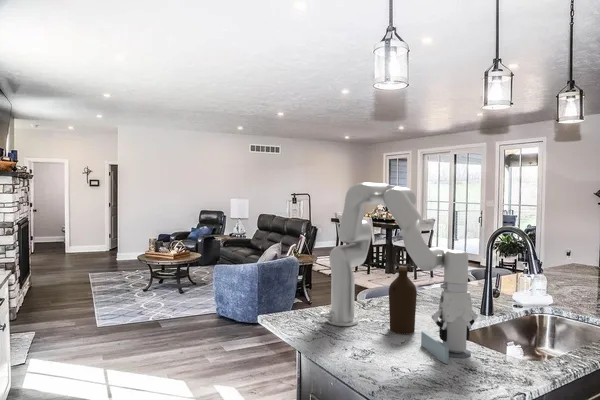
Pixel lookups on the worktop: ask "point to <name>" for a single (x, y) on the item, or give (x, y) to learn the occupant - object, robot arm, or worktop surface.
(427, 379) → the worktop surface
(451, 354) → the coaster
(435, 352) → the acrylic wall
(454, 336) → the can
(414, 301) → the olive oil
